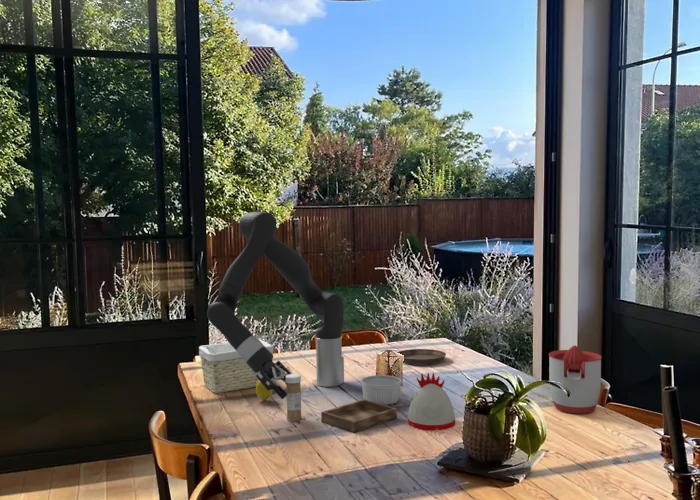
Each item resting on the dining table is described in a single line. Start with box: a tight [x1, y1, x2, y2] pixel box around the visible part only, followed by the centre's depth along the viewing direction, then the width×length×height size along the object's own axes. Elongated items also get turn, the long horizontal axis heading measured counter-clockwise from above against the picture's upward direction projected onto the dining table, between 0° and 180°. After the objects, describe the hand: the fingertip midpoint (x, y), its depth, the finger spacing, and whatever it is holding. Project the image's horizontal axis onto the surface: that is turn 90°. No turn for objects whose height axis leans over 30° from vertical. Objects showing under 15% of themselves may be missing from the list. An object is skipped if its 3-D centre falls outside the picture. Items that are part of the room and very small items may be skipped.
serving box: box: [320, 398, 398, 434], centre depth 195 cm, size 18×14×3 cm
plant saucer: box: [396, 348, 447, 366], centre depth 270 cm, size 21×21×3 cm
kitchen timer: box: [407, 372, 456, 432], centre depth 192 cm, size 14×14×15 cm
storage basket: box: [198, 338, 274, 394], centre depth 237 cm, size 24×16×15 cm
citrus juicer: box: [548, 344, 603, 415], centre depth 201 cm, size 16×17×20 cm
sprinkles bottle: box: [285, 373, 302, 422], centre depth 197 cm, size 5×5×13 cm
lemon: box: [255, 381, 273, 402], centre depth 217 cm, size 6×6×8 cm
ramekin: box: [360, 374, 402, 406], centre depth 215 cm, size 13×13×7 cm
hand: (290, 393), depth 197 cm, fingers open, 8 cm apart
